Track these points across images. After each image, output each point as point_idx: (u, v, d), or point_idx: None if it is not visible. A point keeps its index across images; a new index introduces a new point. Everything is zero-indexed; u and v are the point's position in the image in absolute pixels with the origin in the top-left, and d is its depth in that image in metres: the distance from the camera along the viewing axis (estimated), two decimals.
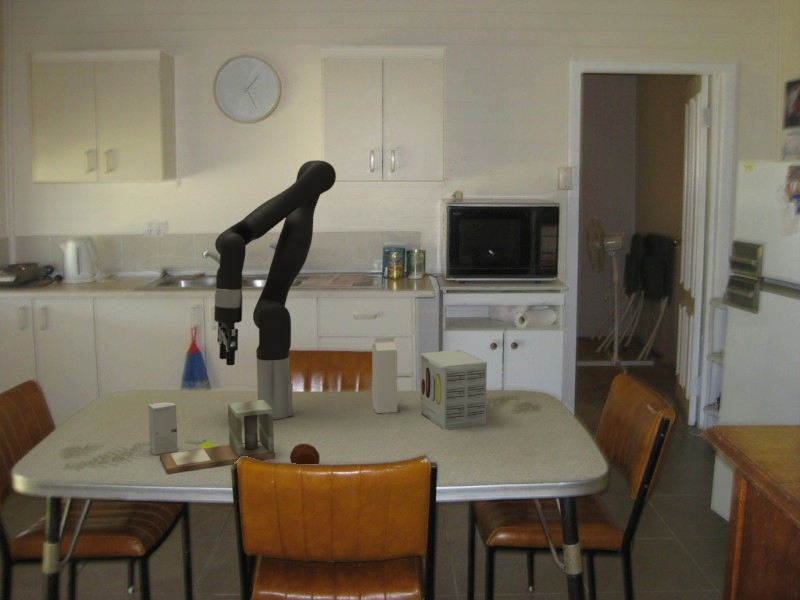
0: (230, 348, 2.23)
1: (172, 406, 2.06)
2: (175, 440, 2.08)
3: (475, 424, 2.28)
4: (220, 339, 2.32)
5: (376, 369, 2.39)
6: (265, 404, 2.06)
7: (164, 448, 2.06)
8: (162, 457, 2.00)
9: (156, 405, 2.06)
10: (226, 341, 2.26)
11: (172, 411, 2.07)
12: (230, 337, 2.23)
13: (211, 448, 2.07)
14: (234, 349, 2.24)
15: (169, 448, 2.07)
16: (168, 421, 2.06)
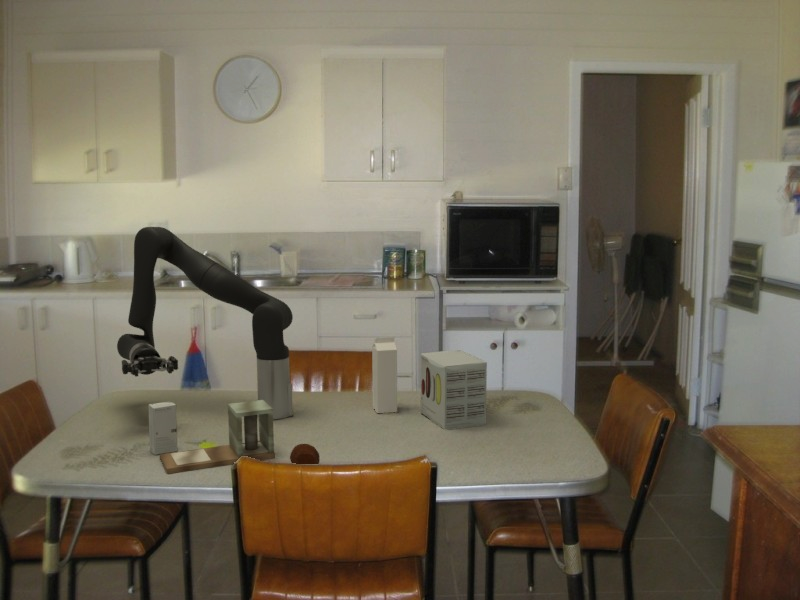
0: (123, 372, 2.17)
1: (172, 406, 2.06)
2: (175, 440, 2.08)
3: (475, 424, 2.28)
4: (161, 370, 2.22)
5: (376, 369, 2.39)
6: (265, 404, 2.06)
7: (164, 448, 2.06)
8: (162, 457, 2.00)
9: (156, 405, 2.06)
10: None
11: (172, 411, 2.07)
12: (122, 369, 2.20)
13: (211, 448, 2.07)
14: (123, 368, 2.17)
15: (169, 448, 2.07)
16: (168, 421, 2.06)
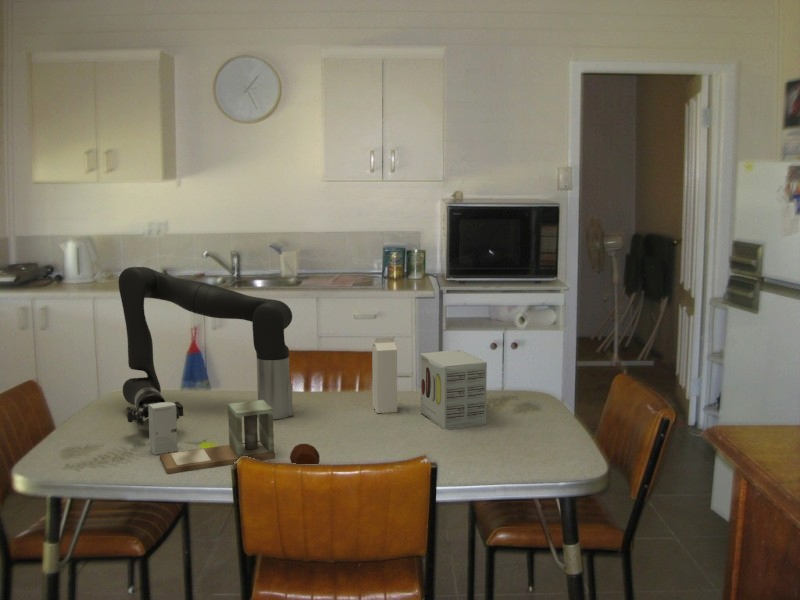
0: None
1: (172, 406, 2.06)
2: (175, 440, 2.08)
3: (475, 424, 2.28)
4: None
5: (376, 369, 2.39)
6: (265, 404, 2.06)
7: (164, 448, 2.06)
8: (162, 457, 2.00)
9: (156, 405, 2.06)
10: None
11: (172, 411, 2.07)
12: None
13: (211, 448, 2.07)
14: (128, 416, 2.15)
15: (169, 448, 2.07)
16: (168, 421, 2.06)
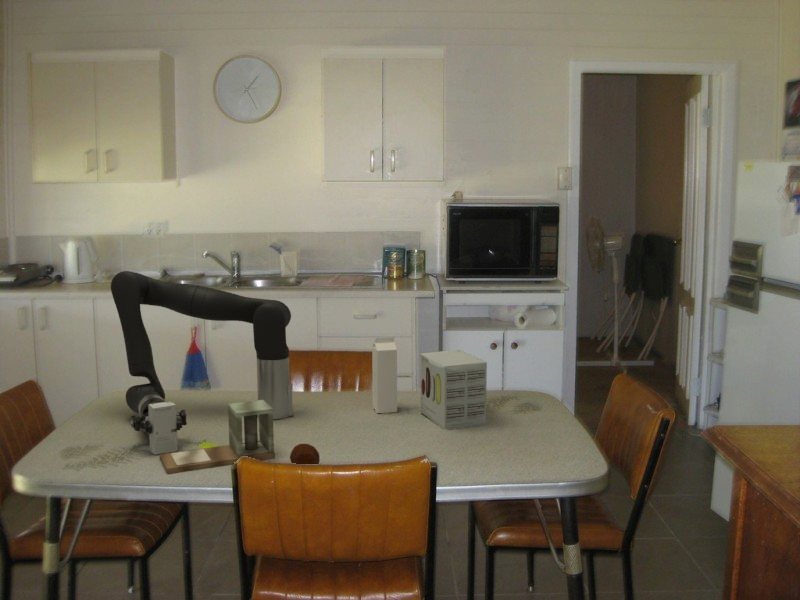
0: (135, 428, 2.08)
1: (172, 406, 2.06)
2: (175, 440, 2.08)
3: (475, 424, 2.28)
4: None
5: (376, 369, 2.39)
6: (265, 404, 2.06)
7: (164, 448, 2.06)
8: (162, 457, 2.00)
9: (156, 405, 2.06)
10: None
11: (172, 411, 2.07)
12: (132, 426, 2.10)
13: (211, 448, 2.07)
14: (135, 424, 2.07)
15: (169, 448, 2.07)
16: (168, 421, 2.06)
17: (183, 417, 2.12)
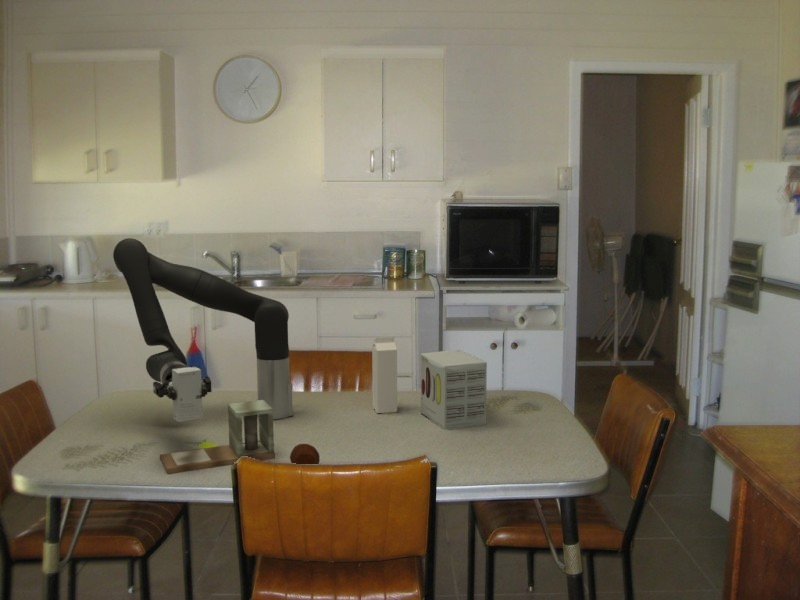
0: (158, 395, 1.98)
1: (197, 371, 1.96)
2: (200, 407, 1.98)
3: (475, 424, 2.28)
4: None
5: (376, 369, 2.39)
6: (265, 404, 2.06)
7: (189, 415, 1.96)
8: (162, 457, 2.00)
9: (180, 370, 1.96)
10: None
11: (197, 376, 1.96)
12: (155, 392, 2.00)
13: (211, 448, 2.07)
14: (158, 390, 1.97)
15: (193, 416, 1.97)
16: (193, 386, 1.96)
17: (208, 383, 2.02)
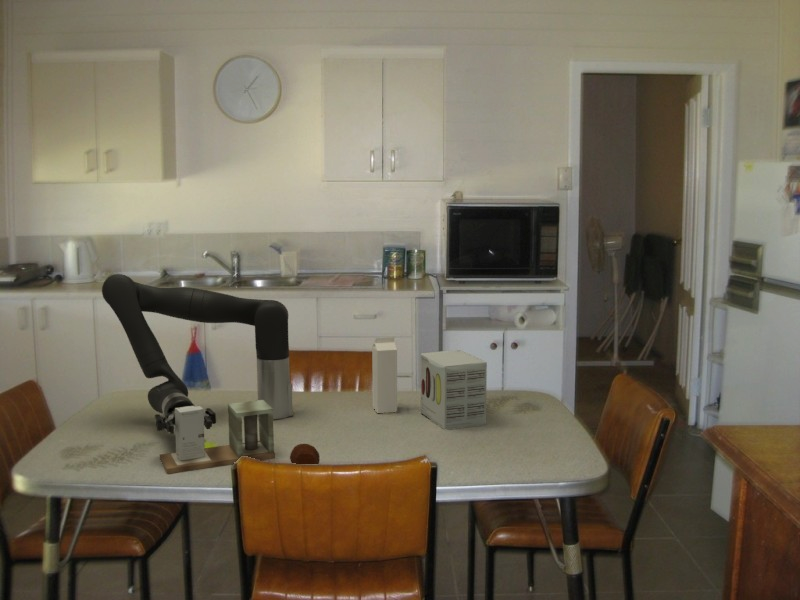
0: (157, 428, 1.99)
1: (199, 410, 1.98)
2: (202, 446, 1.99)
3: (475, 424, 2.28)
4: None
5: (376, 369, 2.39)
6: (265, 404, 2.06)
7: (191, 454, 1.98)
8: (162, 457, 2.00)
9: (183, 409, 1.97)
10: None
11: (199, 415, 1.98)
12: None
13: (211, 448, 2.07)
14: (157, 424, 1.98)
15: (195, 454, 1.98)
16: (195, 425, 1.98)
17: (213, 415, 2.04)
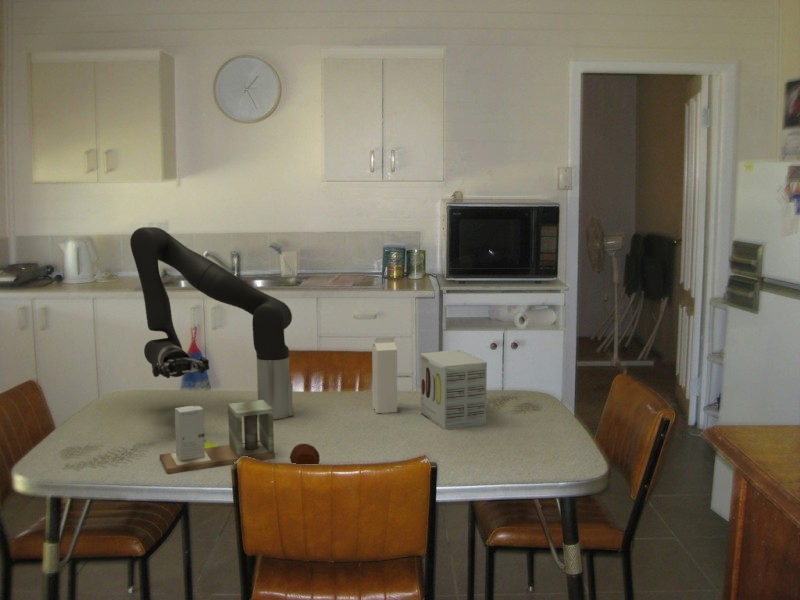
0: (154, 374, 2.13)
1: (199, 410, 1.98)
2: (202, 446, 1.99)
3: (475, 424, 2.28)
4: (192, 371, 2.18)
5: (376, 369, 2.39)
6: (265, 404, 2.06)
7: (191, 454, 1.98)
8: (162, 457, 2.00)
9: (183, 409, 1.97)
10: None
11: (199, 415, 1.98)
12: (152, 372, 2.16)
13: (211, 448, 2.07)
14: (154, 370, 2.13)
15: (195, 454, 1.98)
16: (195, 425, 1.98)
17: (206, 362, 2.18)
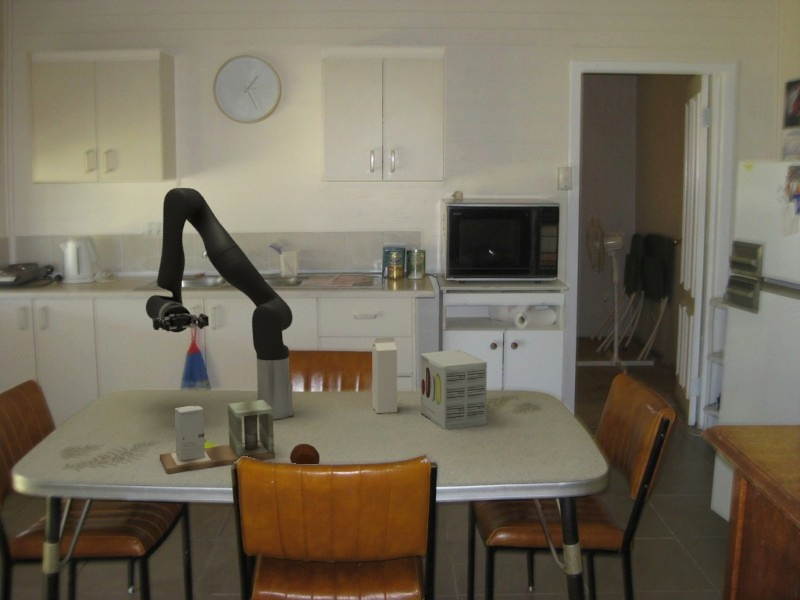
0: (154, 327, 2.16)
1: (199, 410, 1.98)
2: (202, 446, 1.99)
3: (475, 424, 2.28)
4: (192, 326, 2.21)
5: (376, 369, 2.39)
6: (265, 404, 2.06)
7: (191, 454, 1.98)
8: (162, 457, 2.00)
9: (183, 409, 1.97)
10: None
11: (199, 415, 1.98)
12: (153, 326, 2.19)
13: (211, 448, 2.07)
14: (154, 323, 2.16)
15: (195, 454, 1.98)
16: (195, 425, 1.98)
17: (206, 318, 2.21)
